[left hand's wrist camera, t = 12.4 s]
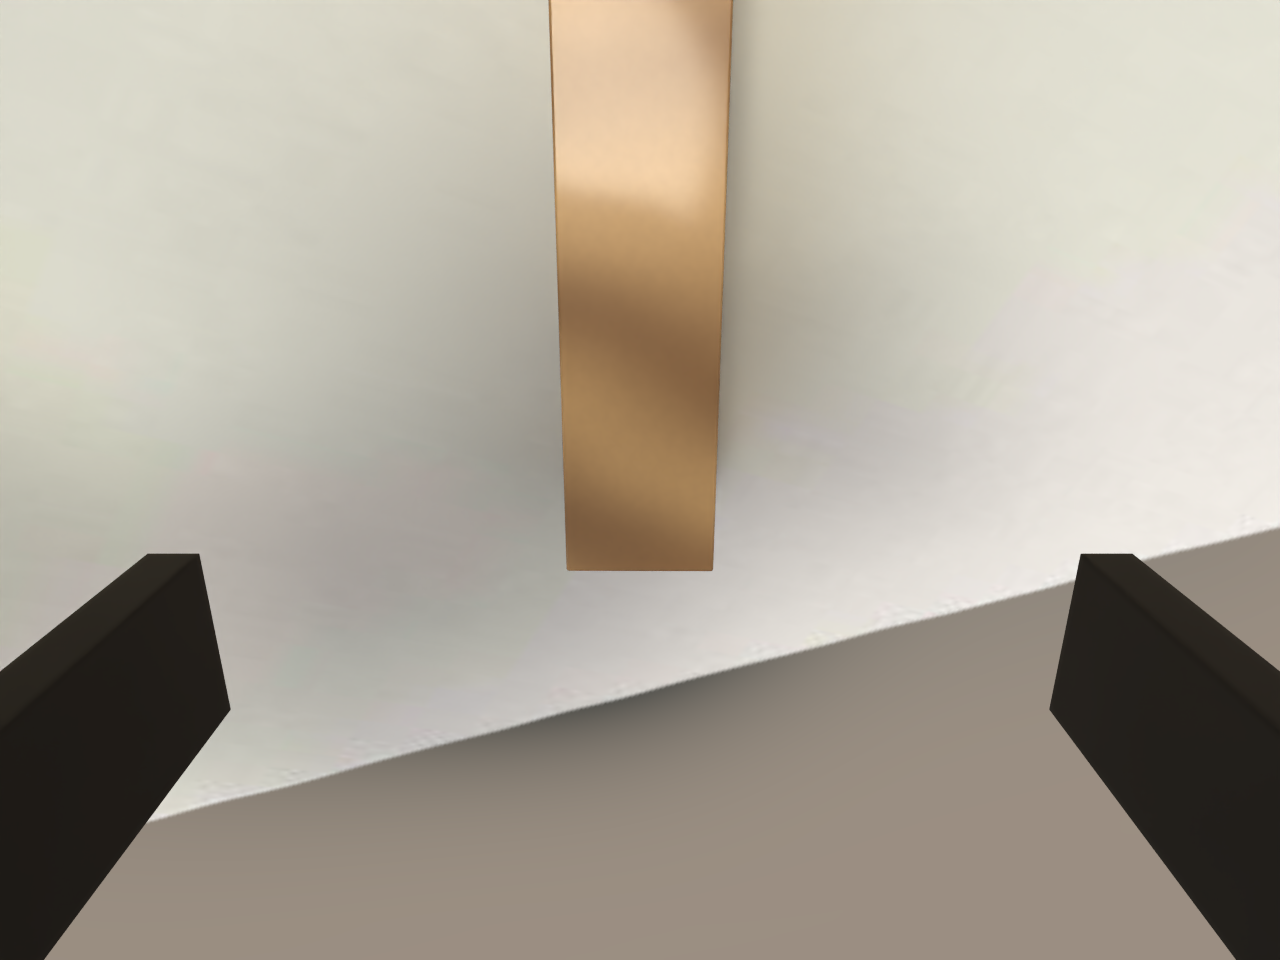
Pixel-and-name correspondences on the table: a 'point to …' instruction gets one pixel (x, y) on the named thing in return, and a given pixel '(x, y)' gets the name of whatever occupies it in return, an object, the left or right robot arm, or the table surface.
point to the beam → (640, 274)
